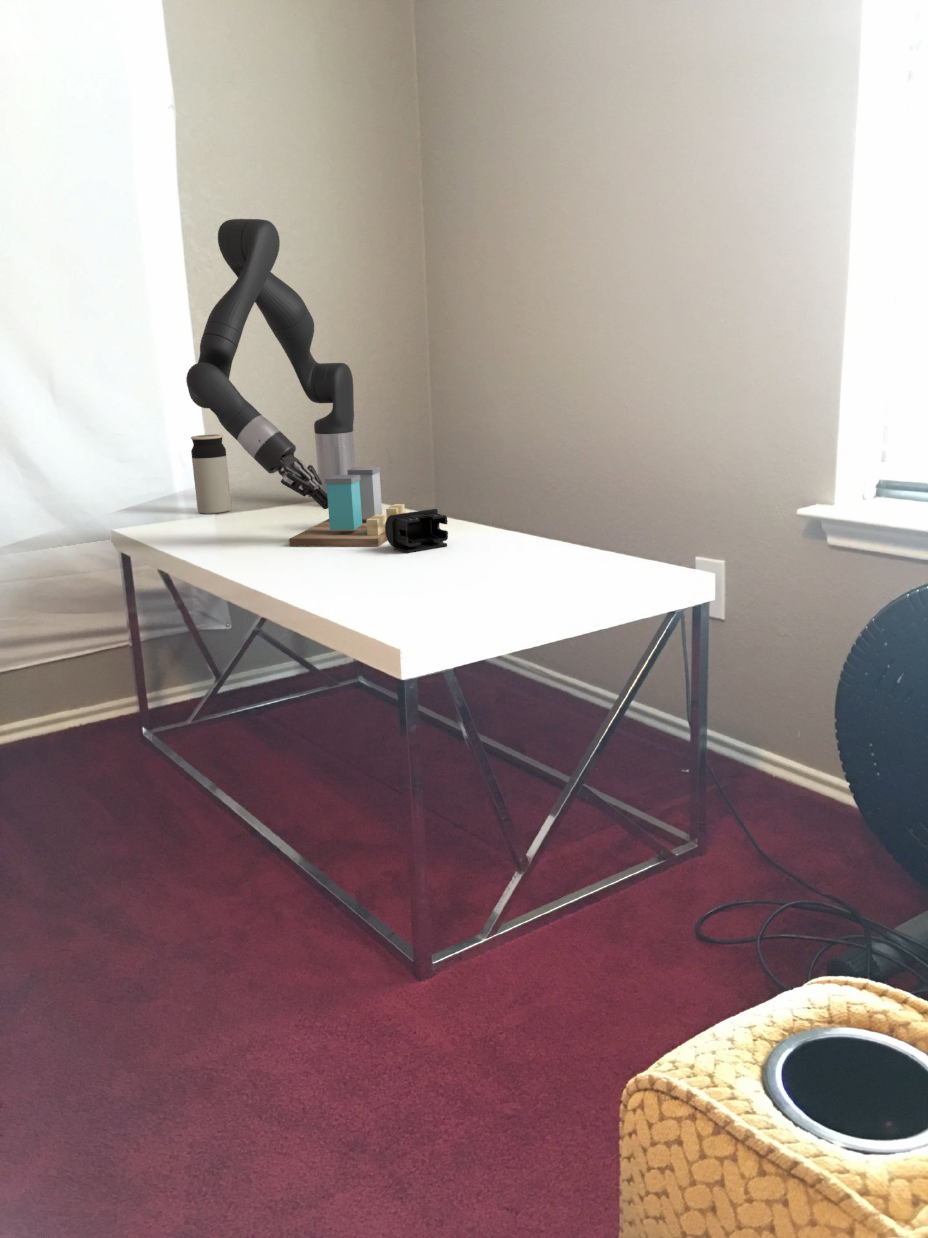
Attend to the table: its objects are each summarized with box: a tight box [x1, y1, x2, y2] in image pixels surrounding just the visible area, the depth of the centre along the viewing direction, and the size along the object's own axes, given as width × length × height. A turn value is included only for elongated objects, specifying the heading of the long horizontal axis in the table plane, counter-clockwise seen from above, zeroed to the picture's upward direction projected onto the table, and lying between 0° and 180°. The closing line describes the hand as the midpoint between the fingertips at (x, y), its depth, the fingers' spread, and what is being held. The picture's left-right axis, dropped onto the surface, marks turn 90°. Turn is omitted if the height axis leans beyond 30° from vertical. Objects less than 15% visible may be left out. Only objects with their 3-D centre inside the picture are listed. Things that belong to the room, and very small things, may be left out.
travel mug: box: [190, 433, 233, 515], centre depth 246 cm, size 8×8×18 cm
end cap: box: [385, 508, 449, 554], centre depth 194 cm, size 10×7×7 cm
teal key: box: [325, 475, 362, 530], centre depth 203 cm, size 5×5×10 cm
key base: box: [288, 503, 406, 548], centre depth 211 cm, size 26×18×4 cm
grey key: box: [347, 466, 383, 518], centre depth 216 cm, size 5×5×10 cm
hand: (329, 505), depth 204 cm, fingers closed
